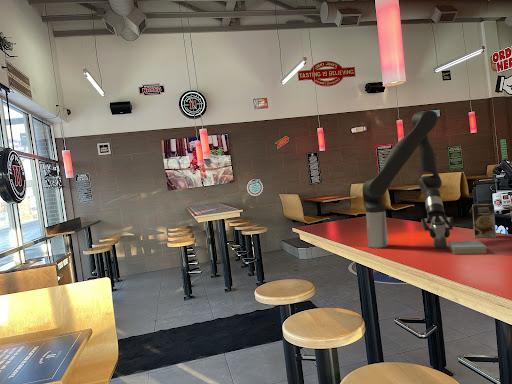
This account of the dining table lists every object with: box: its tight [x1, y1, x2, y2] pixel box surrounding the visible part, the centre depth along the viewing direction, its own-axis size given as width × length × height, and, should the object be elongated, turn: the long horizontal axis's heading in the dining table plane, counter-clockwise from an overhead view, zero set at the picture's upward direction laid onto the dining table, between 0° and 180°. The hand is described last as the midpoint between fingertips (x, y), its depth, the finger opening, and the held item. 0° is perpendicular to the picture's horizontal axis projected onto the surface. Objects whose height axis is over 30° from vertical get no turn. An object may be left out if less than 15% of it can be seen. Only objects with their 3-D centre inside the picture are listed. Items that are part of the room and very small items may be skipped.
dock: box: [447, 240, 487, 255], centre depth 160 cm, size 12×12×3 cm
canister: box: [432, 221, 448, 250], centre depth 171 cm, size 6×6×12 cm
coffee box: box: [472, 203, 497, 239], centre depth 186 cm, size 9×6×16 cm
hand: (440, 236), depth 170 cm, fingers closed on canister, 5 cm apart
